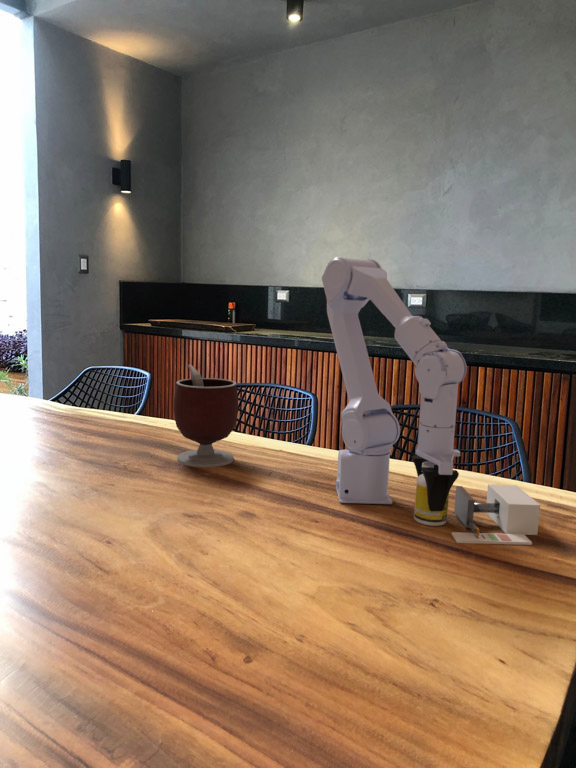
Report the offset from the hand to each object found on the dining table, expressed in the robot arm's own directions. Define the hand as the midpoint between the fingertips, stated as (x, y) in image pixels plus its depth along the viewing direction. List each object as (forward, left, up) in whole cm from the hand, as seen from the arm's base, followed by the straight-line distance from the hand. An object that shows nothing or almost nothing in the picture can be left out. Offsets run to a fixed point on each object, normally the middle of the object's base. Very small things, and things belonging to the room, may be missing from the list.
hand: (431, 504), depth 103 cm
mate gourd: (-42, +34, -3) cm, 54 cm away
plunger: (+9, -2, -3) cm, 10 cm away
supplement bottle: (0, 0, -3) cm, 3 cm away
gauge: (+9, -2, -3) cm, 10 cm away
